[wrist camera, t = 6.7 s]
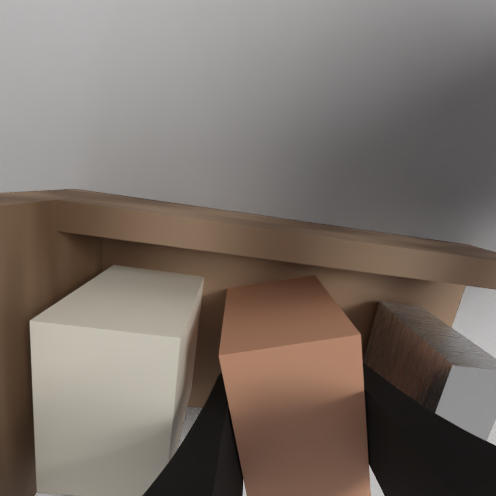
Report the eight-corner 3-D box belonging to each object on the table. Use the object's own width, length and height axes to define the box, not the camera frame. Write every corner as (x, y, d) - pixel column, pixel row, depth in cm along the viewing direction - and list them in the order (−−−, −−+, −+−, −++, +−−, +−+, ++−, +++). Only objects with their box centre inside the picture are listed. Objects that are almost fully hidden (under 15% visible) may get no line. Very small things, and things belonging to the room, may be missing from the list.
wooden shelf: (468, 244, 13) (687, 307, 7) (409, 419, 15) (530, 591, 9) (74, 188, 12) (-115, 198, 6) (74, 385, 14) (-60, 551, 8)
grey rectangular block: (421, 306, 13) (515, 372, 8) (387, 414, 14) (453, 519, 10) (379, 301, 13) (452, 365, 8) (349, 410, 14) (398, 514, 10)
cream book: (204, 276, 12) (180, 338, 8) (191, 389, 14) (164, 502, 9) (113, 265, 12) (29, 320, 7) (109, 381, 14) (36, 492, 9)
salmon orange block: (314, 275, 13) (361, 334, 8) (325, 386, 14) (370, 496, 9) (227, 288, 13) (218, 355, 8) (247, 398, 14) (250, 513, 9)
